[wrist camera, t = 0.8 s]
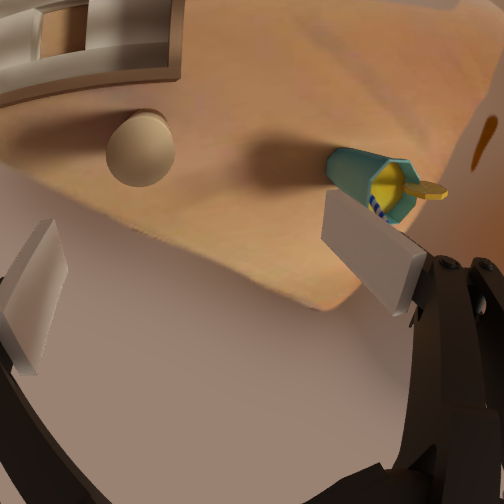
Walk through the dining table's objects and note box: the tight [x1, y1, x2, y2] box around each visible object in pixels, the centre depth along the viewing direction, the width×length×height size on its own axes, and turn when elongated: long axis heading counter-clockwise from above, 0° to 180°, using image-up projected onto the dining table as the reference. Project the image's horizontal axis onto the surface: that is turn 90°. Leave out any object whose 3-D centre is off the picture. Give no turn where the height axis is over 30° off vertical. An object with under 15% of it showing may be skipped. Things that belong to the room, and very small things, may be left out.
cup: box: [326, 148, 448, 225], centre depth 33 cm, size 14×8×15 cm, turn 112°
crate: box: [0, 0, 185, 108], centre depth 19 cm, size 14×24×8 cm, turn 87°
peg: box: [106, 109, 175, 187], centre depth 25 cm, size 4×4×14 cm
